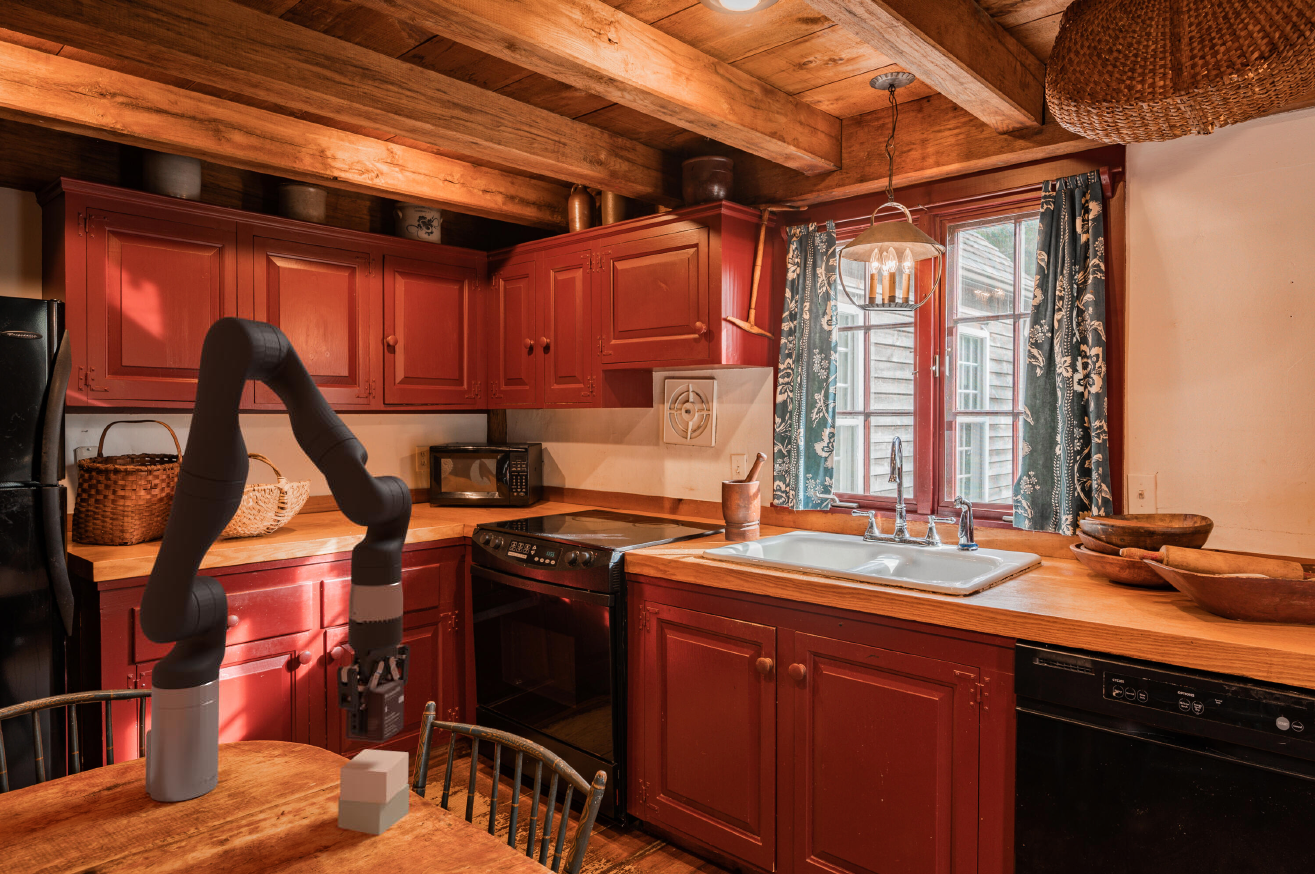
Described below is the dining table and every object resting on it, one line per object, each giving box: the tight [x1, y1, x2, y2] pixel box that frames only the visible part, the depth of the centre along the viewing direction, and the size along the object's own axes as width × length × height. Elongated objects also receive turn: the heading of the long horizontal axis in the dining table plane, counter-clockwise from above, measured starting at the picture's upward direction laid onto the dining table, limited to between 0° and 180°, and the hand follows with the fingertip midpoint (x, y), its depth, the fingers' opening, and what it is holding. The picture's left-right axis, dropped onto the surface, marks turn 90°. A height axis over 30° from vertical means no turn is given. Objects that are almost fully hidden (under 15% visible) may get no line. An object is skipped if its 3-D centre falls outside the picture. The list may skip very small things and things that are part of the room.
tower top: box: [339, 748, 409, 804], centre depth 117 cm, size 7×7×4 cm
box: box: [345, 680, 405, 743], centre depth 117 cm, size 6×6×7 cm
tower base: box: [337, 783, 410, 836], centre depth 117 cm, size 7×7×4 cm
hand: (374, 725), depth 117 cm, fingers closed on box, 6 cm apart
